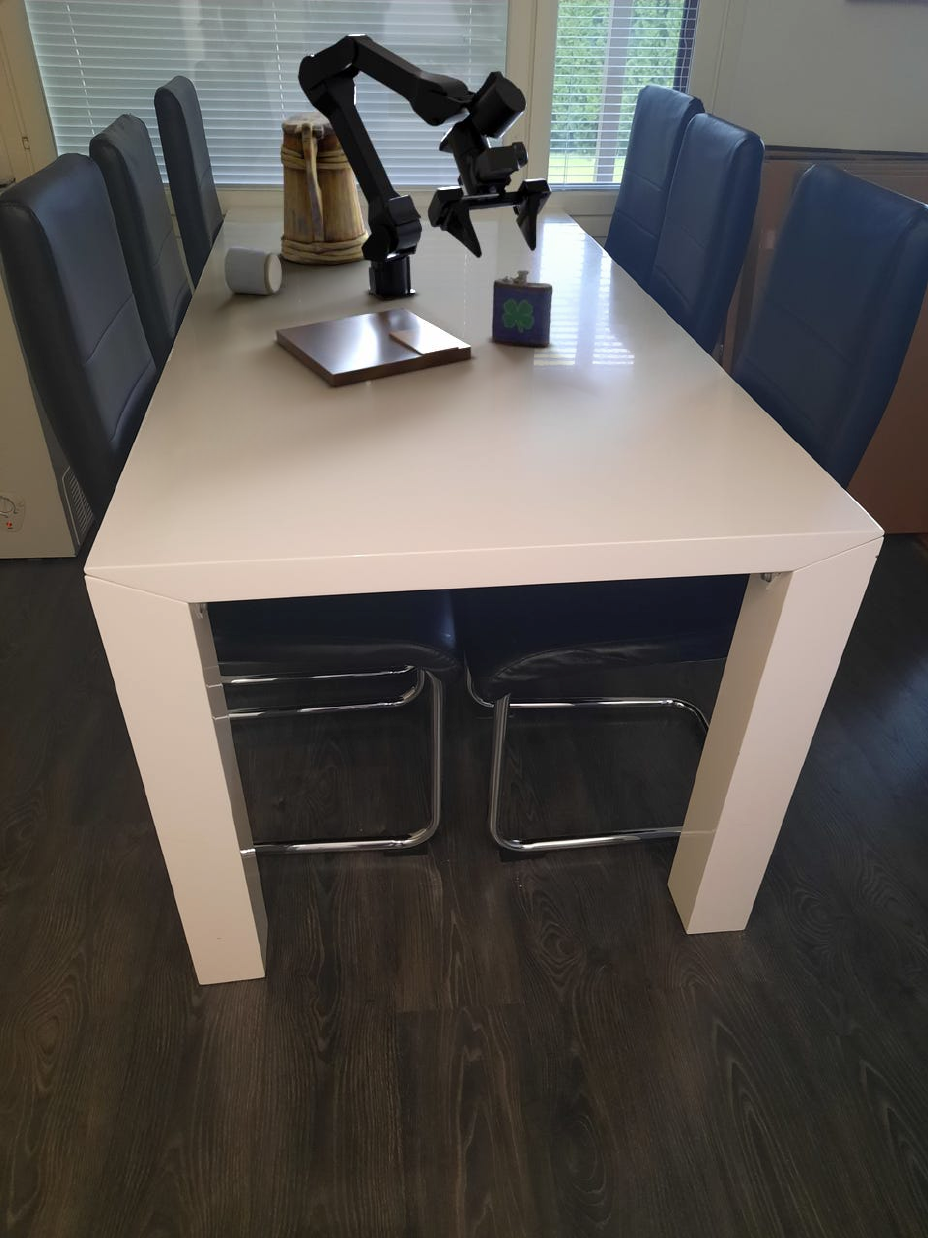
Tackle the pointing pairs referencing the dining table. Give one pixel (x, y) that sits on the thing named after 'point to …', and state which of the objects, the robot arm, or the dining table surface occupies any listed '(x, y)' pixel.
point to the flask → (521, 311)
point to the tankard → (318, 195)
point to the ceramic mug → (252, 271)
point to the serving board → (371, 346)
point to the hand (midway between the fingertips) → (507, 252)
